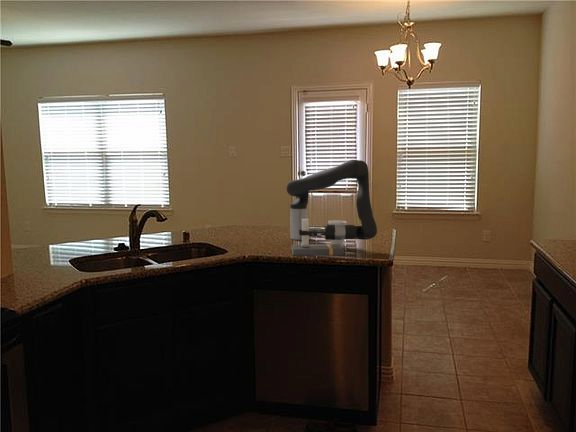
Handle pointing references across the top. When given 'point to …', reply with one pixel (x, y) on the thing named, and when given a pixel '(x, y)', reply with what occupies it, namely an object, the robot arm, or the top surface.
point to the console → (317, 249)
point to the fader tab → (305, 237)
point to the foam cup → (341, 224)
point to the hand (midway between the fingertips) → (299, 232)
